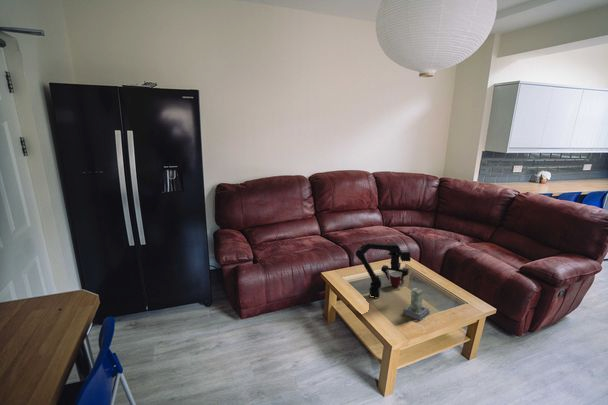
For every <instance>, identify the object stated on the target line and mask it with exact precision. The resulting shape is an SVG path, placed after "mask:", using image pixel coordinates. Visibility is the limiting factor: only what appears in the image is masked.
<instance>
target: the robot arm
mask: <svg viewBox="0 0 608 405" xmlns="http://www.w3.org/2000/svg"><path fill="white" fill-rule="evenodd" d="M371 249H372V250H378V251H379V250H381V251H388V253H387V255H388V256H390V267H389V265H382V267H381V269H380V270H381V272H382V273H383V274H384V275H385V277H386V278H387V280H388V281H389V280H390V273H389V271H390V272H392V271H393V272H396V273H401V280H400V282H401V283H403V280H404V277H406V276H408V275H409V273H410V268H405V267H403V268H401V262H411V261H412V260H411V252H410V251H402V249H401V248H400V245H399V244H398V243H397V242H388V243H381V242H370V241H367V242H366V243H365V244H362V245H361V246H360V247H357V248H356V249H355V256H356V258H357V260H359V261H361V263H362V265H363V267H364V268H365V270H366V272H367V274H368V275H369V277H370V279H371V282H370V287H369V295H370V294H371V296H374V297H378V298H379V297H380V295H381V292H380V291H381V290H380V289H381V287H382V278H381V277H380V275H379V274H378V275H377V274H376V273H375V271H374V269H373V268H372V266H371V265H370V263H369V261H368V259H367V256H366V253H367V252H368V251H369V250H371ZM400 260H401V262H400Z"/></svg>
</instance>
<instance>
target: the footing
mask: <svg viewBox="0 0 608 405" xmlns="http://www.w3.org/2000/svg"><path fill="white" fill-rule="evenodd" d="M403 308H404V309H403V310H402V314H403V315H405V316H408V317H410V318H411V319H415V320H416V321H419V322H421V321H422V320H424V319H425V318H426V317H427V316H429V315H430V312H431V310H430V309H429V308H428V307H426V306H423V305H422V310H421V311H420V312H419V313H417V312H415V311H412V310H411V303H410V304H409V305H407V306H406V307H403ZM423 318H424V319H423Z"/></svg>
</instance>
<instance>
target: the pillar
mask: <svg viewBox="0 0 608 405" xmlns="http://www.w3.org/2000/svg"><path fill="white" fill-rule="evenodd" d="M410 304H411V310H412V311H415V312H417V313H419V312H420V311H421V310H422V306H423V289H419V288H417V287H414V288H413V289H411V290H410Z"/></svg>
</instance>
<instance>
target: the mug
mask: <svg viewBox="0 0 608 405" xmlns="http://www.w3.org/2000/svg"><path fill="white" fill-rule="evenodd" d="M401 276H402V274H400V273H399V272H391V273H389V280H390V284H391V287H392V288H394V289H395V288H396V289H397V288H398V287H399V286H402V285H404V283H405V281H404V279H403V281H402V282H401ZM400 282H401V283H400Z"/></svg>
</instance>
